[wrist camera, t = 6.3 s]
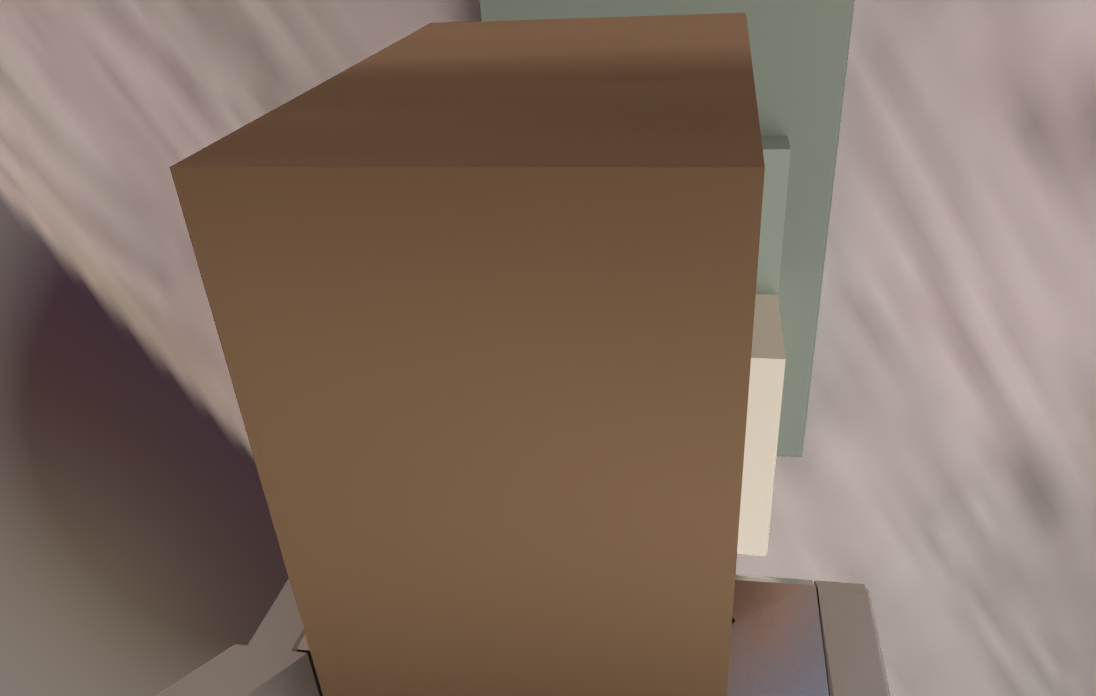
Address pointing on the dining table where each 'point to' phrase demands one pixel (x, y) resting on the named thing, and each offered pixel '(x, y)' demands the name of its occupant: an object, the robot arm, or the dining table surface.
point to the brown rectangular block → (500, 350)
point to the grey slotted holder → (768, 205)
